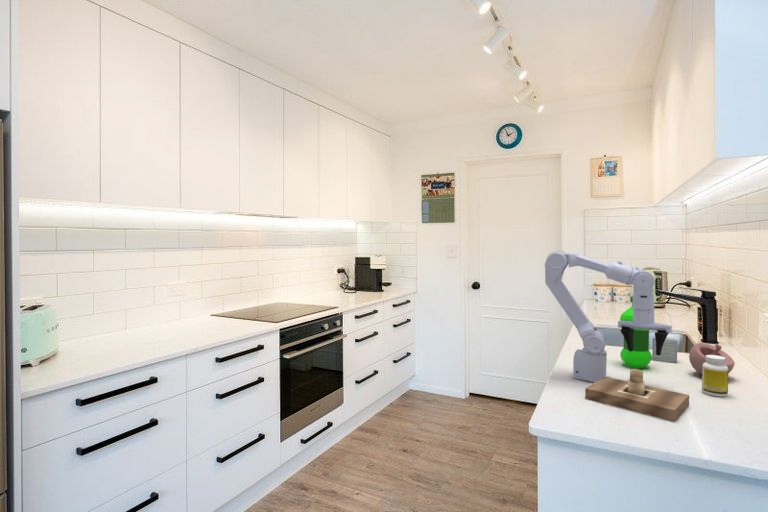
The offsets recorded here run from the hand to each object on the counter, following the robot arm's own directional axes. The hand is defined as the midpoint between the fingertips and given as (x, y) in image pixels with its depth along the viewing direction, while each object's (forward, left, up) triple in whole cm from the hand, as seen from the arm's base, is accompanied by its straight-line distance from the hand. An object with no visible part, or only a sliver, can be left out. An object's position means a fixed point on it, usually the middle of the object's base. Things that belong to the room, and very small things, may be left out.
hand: (644, 352), depth 136 cm
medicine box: (-3, +36, -11) cm, 38 cm away
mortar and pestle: (+13, +25, -11) cm, 30 cm away
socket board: (+3, -17, -10) cm, 20 cm away
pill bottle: (+17, +7, -11) cm, 21 cm away
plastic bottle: (-8, +20, -11) cm, 25 cm away
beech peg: (+3, -16, -10) cm, 20 cm away
